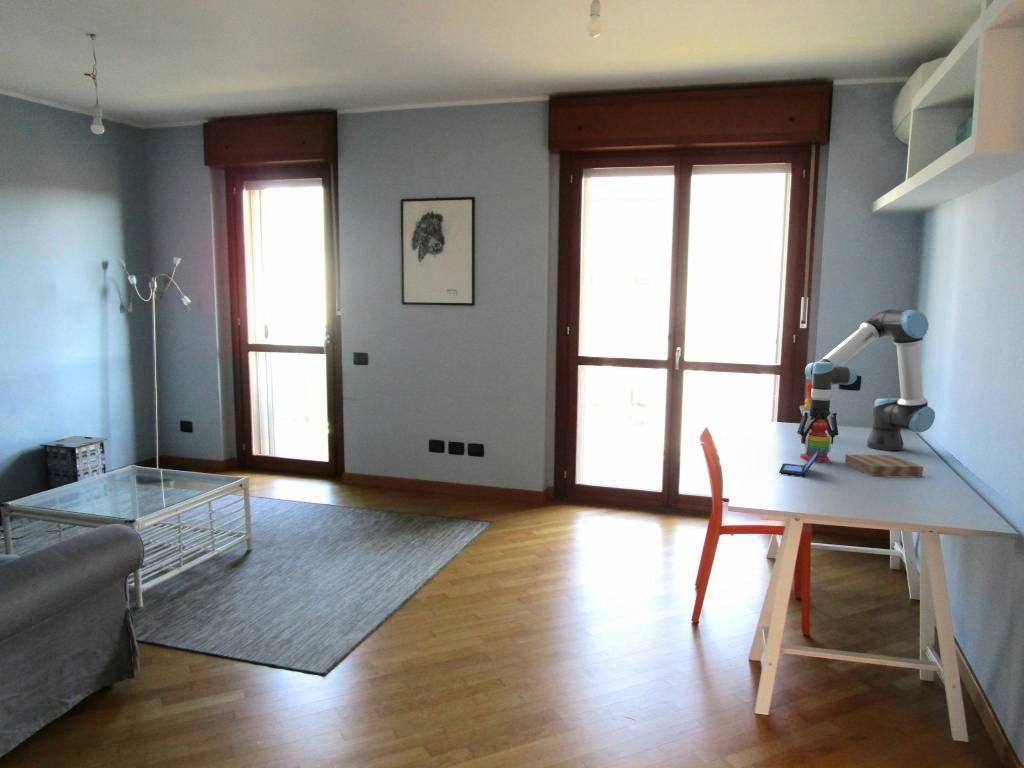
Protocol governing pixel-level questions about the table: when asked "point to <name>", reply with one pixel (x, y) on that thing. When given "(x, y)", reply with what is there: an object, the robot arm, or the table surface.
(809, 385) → the lava lamp
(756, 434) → the table surface
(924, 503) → the table surface
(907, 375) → the robot arm
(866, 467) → the walnut plinth
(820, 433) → the stacking bear
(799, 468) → the handheld game console
